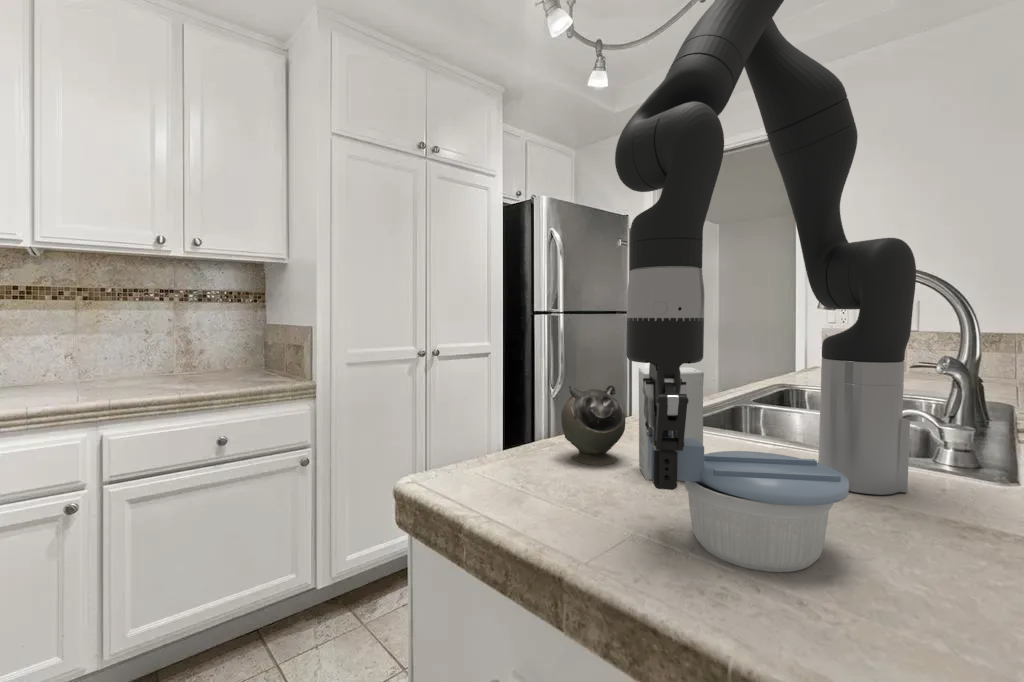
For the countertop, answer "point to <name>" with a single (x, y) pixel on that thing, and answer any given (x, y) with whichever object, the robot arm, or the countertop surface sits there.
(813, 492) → the lid
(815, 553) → the ramekin
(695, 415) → the skincare box
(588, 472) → the countertop surface
